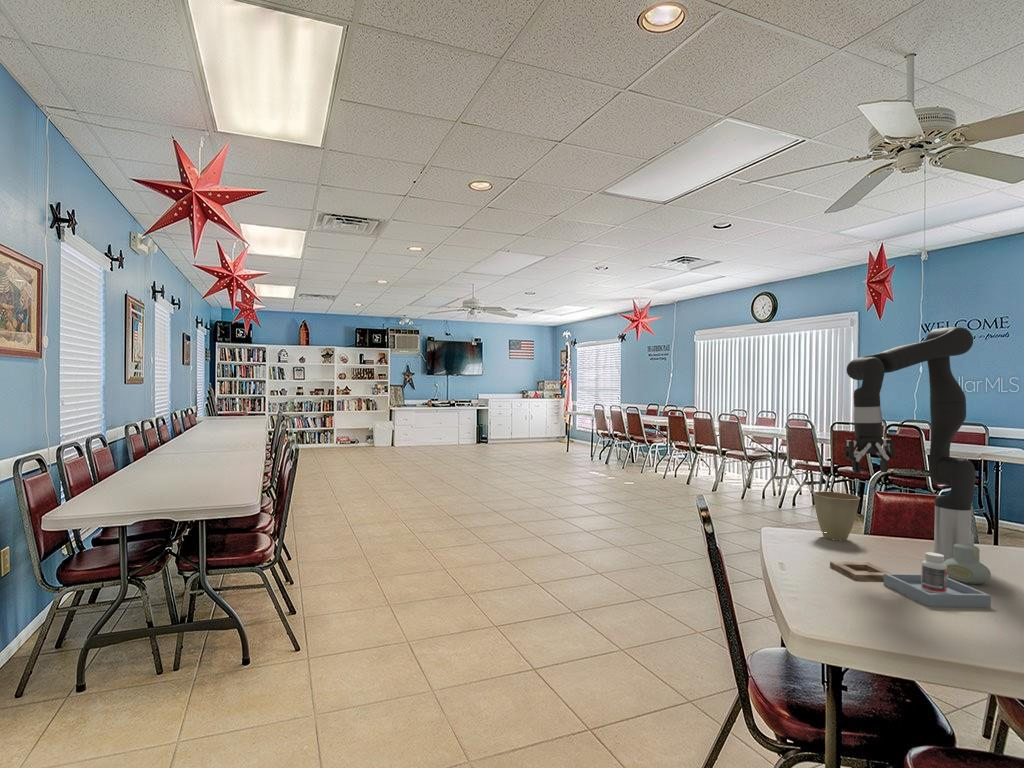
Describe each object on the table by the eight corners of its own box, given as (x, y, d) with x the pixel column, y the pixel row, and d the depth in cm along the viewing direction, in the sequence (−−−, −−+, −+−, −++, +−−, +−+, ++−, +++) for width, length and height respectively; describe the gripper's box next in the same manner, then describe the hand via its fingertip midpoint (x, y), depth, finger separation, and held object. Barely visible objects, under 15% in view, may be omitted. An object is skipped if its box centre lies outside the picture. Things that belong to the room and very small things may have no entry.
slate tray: (939, 585, 155) (939, 574, 155) (990, 607, 139) (990, 595, 139) (883, 584, 155) (883, 573, 155) (928, 606, 139) (928, 594, 139)
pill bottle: (950, 596, 143) (951, 558, 144) (925, 593, 145) (926, 555, 145) (941, 589, 149) (942, 552, 149) (917, 586, 150) (918, 550, 150)
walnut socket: (868, 567, 170) (868, 562, 170) (896, 580, 158) (896, 575, 158) (829, 566, 169) (829, 561, 169) (855, 580, 157) (855, 574, 157)
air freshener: (995, 584, 157) (996, 549, 157) (983, 589, 153) (983, 552, 153) (949, 573, 166) (950, 539, 166) (936, 577, 162) (937, 543, 162)
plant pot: (804, 536, 205) (805, 493, 206) (823, 531, 214) (823, 490, 215) (848, 546, 194) (849, 500, 194) (866, 540, 203) (866, 496, 203)
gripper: (853, 422, 170) (856, 475, 170) (898, 420, 171) (901, 473, 171) (838, 421, 178) (841, 472, 178) (881, 419, 178) (884, 470, 178)
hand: (870, 472), depth 174 cm, fingers open, 8 cm apart
